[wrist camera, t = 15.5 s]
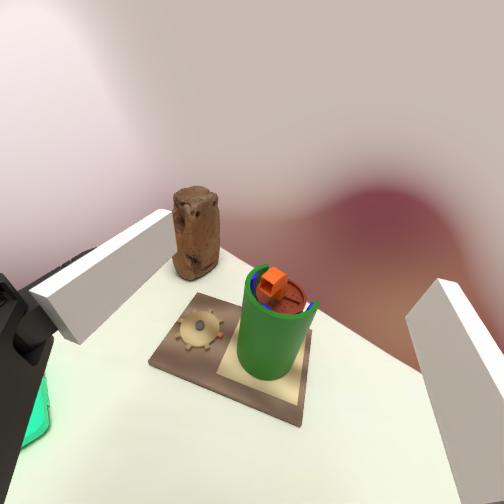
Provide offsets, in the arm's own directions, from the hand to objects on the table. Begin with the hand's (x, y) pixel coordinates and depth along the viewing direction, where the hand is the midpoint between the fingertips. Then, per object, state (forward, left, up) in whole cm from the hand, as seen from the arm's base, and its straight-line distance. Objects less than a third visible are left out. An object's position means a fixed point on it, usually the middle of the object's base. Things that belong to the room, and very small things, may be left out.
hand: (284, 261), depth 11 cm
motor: (+12, 0, -30) cm, 32 cm away
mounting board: (+12, +5, -31) cm, 33 cm away
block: (+28, +22, -31) cm, 47 cm away
